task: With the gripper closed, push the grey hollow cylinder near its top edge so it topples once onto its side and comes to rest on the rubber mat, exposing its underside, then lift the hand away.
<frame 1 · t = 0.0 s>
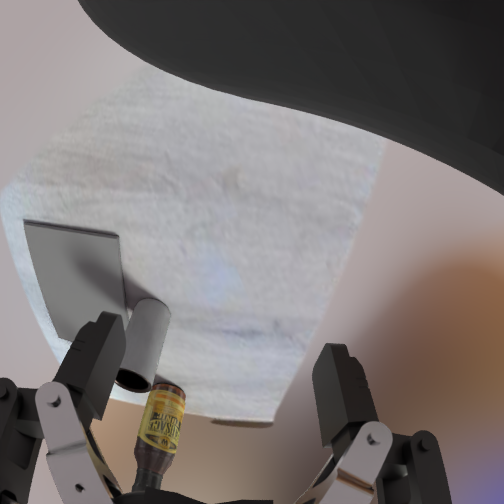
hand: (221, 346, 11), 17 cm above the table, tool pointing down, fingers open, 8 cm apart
sauce bottle: (168, 389, 44), on the table
mat: (81, 296, 33), on the table
grey hollow cylinder: (153, 310, 34), on the table
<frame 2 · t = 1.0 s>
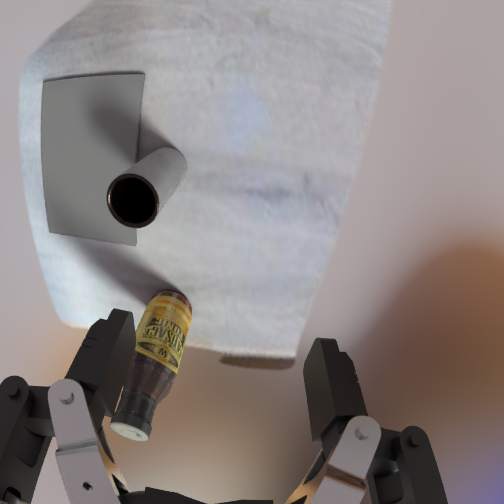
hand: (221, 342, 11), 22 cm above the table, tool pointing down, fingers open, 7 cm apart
sauce bottle: (171, 303, 39), on the table
mat: (85, 161, 28), on the table
grey hollow cylinder: (167, 166, 29), on the table
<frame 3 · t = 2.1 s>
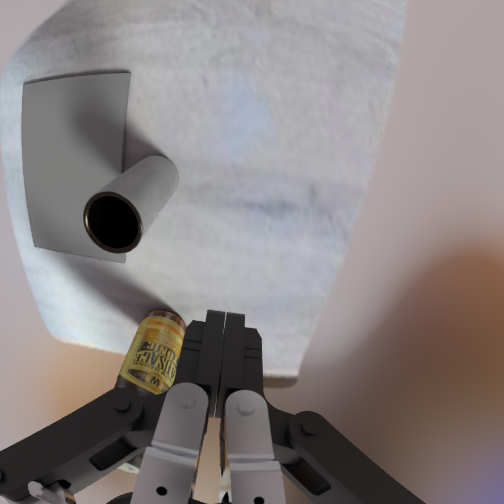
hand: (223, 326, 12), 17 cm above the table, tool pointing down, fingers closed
sauce bottle: (164, 322, 36), on the table
mat: (68, 170, 25), on the table
grey hollow cylinder: (156, 177, 26), on the table
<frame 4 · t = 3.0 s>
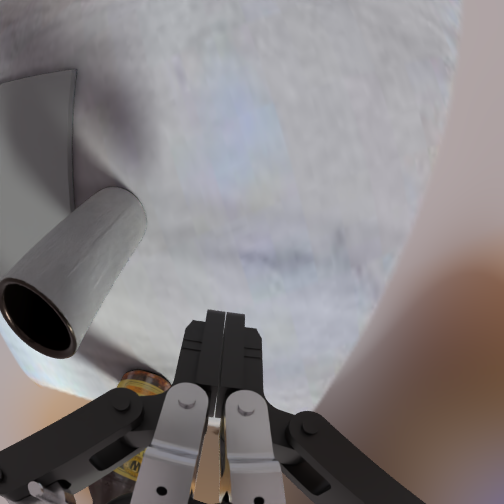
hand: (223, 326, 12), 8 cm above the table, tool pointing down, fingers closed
sauce bottle: (147, 381, 28), on the table
mat: (13, 205, 17), on the table
grey hollow cylinder: (118, 216, 18), on the table
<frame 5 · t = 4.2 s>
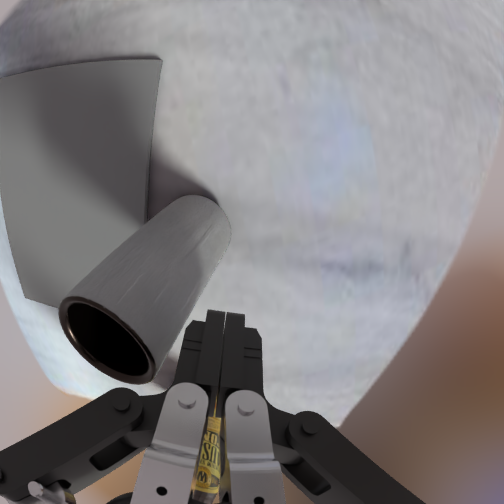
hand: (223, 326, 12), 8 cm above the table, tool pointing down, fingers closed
sauce bottle: (196, 388, 28), on the table
mat: (64, 205, 17), on the table
grey hollow cylinder: (198, 227, 18), on the table
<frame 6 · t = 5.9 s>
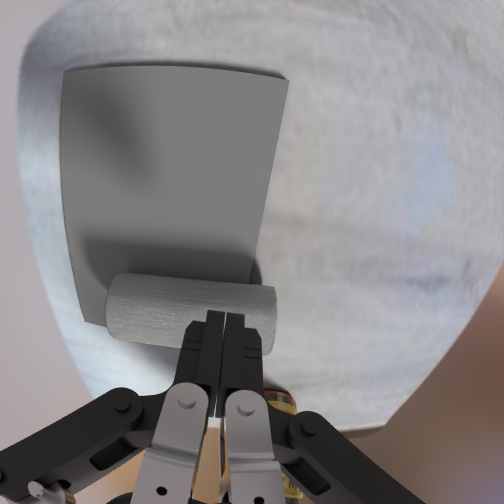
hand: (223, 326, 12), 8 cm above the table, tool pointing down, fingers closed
sauce bottle: (266, 399, 29), on the table
mat: (153, 225, 18), on the table
grey hollow cylinder: (274, 321, 18), point 3 cm above the table, touching mat
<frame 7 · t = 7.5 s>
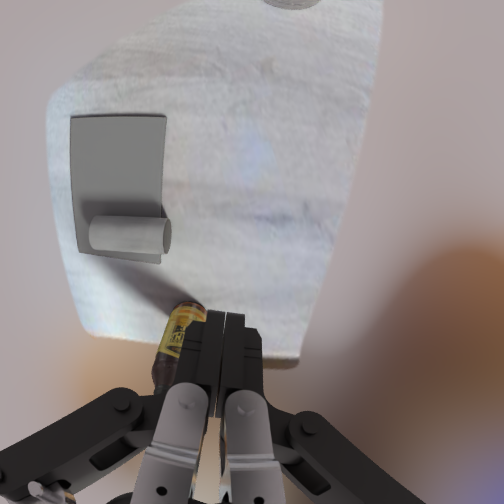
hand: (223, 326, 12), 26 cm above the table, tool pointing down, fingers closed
sauce bottle: (190, 313, 45), on the table
mat: (114, 191, 35), on the table
grey hollow cylinder: (169, 236, 35), point 3 cm above the table, touching mat
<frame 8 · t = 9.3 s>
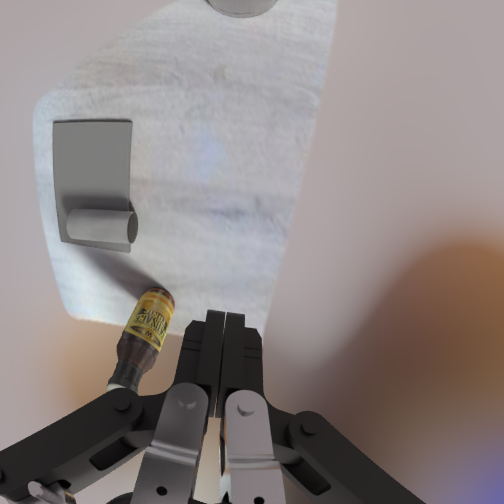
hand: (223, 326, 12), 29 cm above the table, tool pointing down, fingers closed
sauce bottle: (158, 298, 48), on the table
mat: (90, 187, 38), on the table
grey hollow cylinder: (134, 227, 38), point 3 cm above the table, touching mat
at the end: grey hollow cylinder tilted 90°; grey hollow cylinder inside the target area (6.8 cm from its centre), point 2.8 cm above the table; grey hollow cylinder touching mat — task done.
